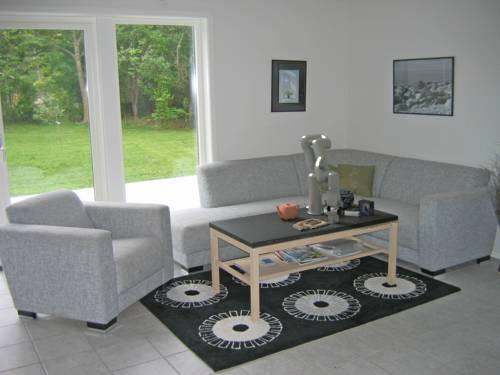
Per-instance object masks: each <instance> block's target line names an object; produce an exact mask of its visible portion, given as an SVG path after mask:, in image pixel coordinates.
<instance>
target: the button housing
mask: <svg viewBox="0 0 500 375" xmlns="http://www.w3.org/2000/svg"><path fill="white" fill-rule="evenodd" d="M293 228H295V229H298V230H302V229H306V228H308V225H306V224H304V226H297V224H296V223H295V224H292V229H293ZM295 229H294V230H295ZM308 229H309V228H308ZM298 230H297V231H298ZM306 230H307V229H306Z"/></svg>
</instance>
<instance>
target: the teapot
mask: <svg viewBox="0 0 500 375" xmlns="http://www.w3.org/2000/svg"><path fill="white" fill-rule="evenodd" d="M275 208H276V210H277V213H278V216H279V217H280V218H281V219H282V218H283V220H284V221H285V220H288V221H289V219H291V220H293V219H295V220H296V218H298V215H299V213H298V210H299V209H300V204H294V203H291V202H286V203H284V204H280V206H279V205H275Z"/></svg>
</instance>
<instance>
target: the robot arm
mask: <svg viewBox="0 0 500 375" xmlns="http://www.w3.org/2000/svg"><path fill="white" fill-rule="evenodd" d="M300 146H301V149H302V151H303V154H304V157H305V158H304V159H305V164H306V168H307V170H309V171H310V173H308V175H307V182H308V205H307V206H306V209H307V211H306V213H307V214H308V215H311V216H320V215H323V214H324V213H325V212H324V210H322V208H323V204H322V203H323V200H322V199H323V196H322V194H323V192H322V191H323V190H322V188H321V187H320V185H325V184H327V190H328V191H327V192H326V198H325V199H324V204H325V206H326V214H328V211H332V208H331V207H335V208H337V209H336V211H337V215H339V216H340V215H341V214H342V211H341V210H342V209H343V208H342V207H343V203H342V202H341V199H340V192H339V190H340V175H339V173H338V172H336V171H335V170H330V167H329V163H328V158H329V156H328V153H327V150H330V149H331V148H332V141H331V139H330V138H328V137H327V136H326V135H324V134H323V133H315V134H314V133H313V134H305V135H303V136H302V137H301V138H300ZM340 204H341V205H340ZM338 206H339V207H338Z"/></svg>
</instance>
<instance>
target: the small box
mask: <svg viewBox="0 0 500 375" xmlns="http://www.w3.org/2000/svg"><path fill="white" fill-rule="evenodd" d="M357 203H358V204H357V206H358V207H357V208H358V209H357V212H358V211H359V212H360V214H359V215H362V216H366V217H372V216H374V215H375V201H374V200H371V199H370V200H368V199H364V198H362V199H360V200H358V202H357Z"/></svg>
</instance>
